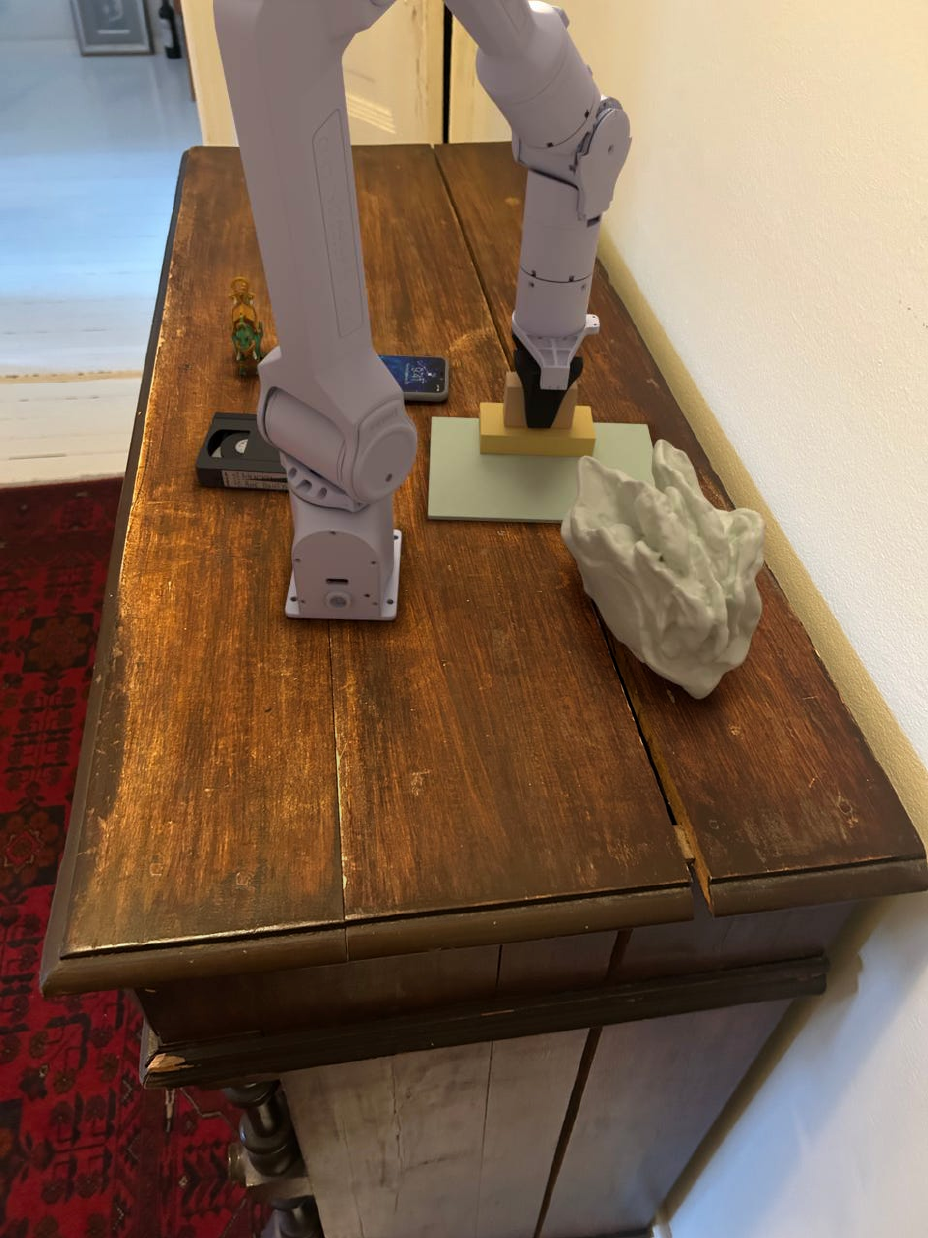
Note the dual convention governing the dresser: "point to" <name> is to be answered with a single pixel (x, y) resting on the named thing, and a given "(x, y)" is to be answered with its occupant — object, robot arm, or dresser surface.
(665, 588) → the wavy plaster lump
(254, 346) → the figurine
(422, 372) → the smartphone
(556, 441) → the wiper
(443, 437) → the mat
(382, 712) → the dresser surface
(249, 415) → the vhs tape
